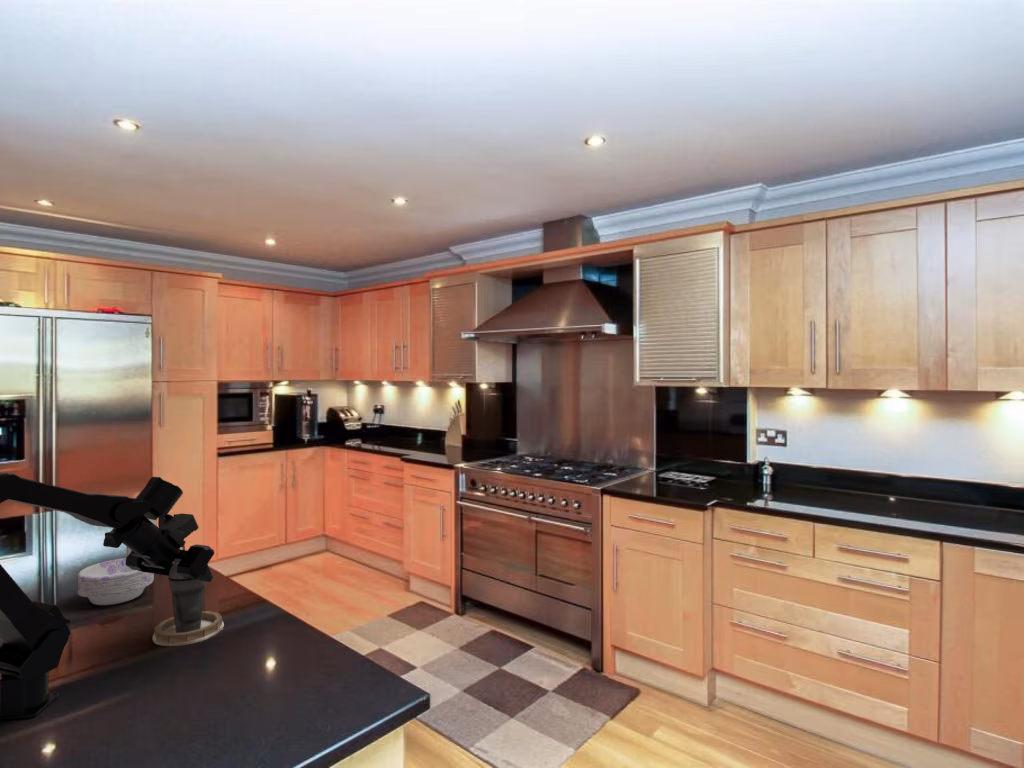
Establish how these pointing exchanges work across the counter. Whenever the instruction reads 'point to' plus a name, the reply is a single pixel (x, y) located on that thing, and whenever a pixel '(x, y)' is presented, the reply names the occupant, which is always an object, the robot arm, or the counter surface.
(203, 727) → the counter surface
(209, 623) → the ring holder
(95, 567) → the paper bowls
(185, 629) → the beverage cup
